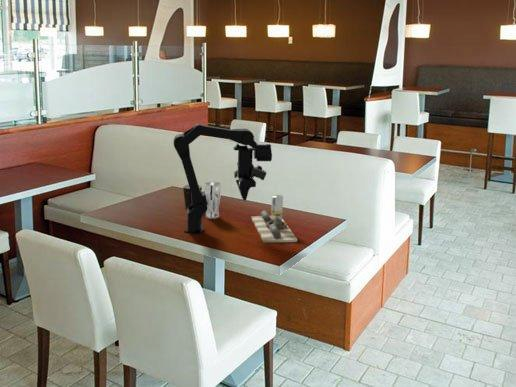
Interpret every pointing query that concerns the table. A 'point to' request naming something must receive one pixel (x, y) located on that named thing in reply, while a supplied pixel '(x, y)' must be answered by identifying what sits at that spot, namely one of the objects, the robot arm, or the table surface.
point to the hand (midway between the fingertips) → (244, 199)
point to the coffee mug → (188, 195)
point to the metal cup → (277, 210)
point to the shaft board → (269, 234)
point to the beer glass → (212, 199)
